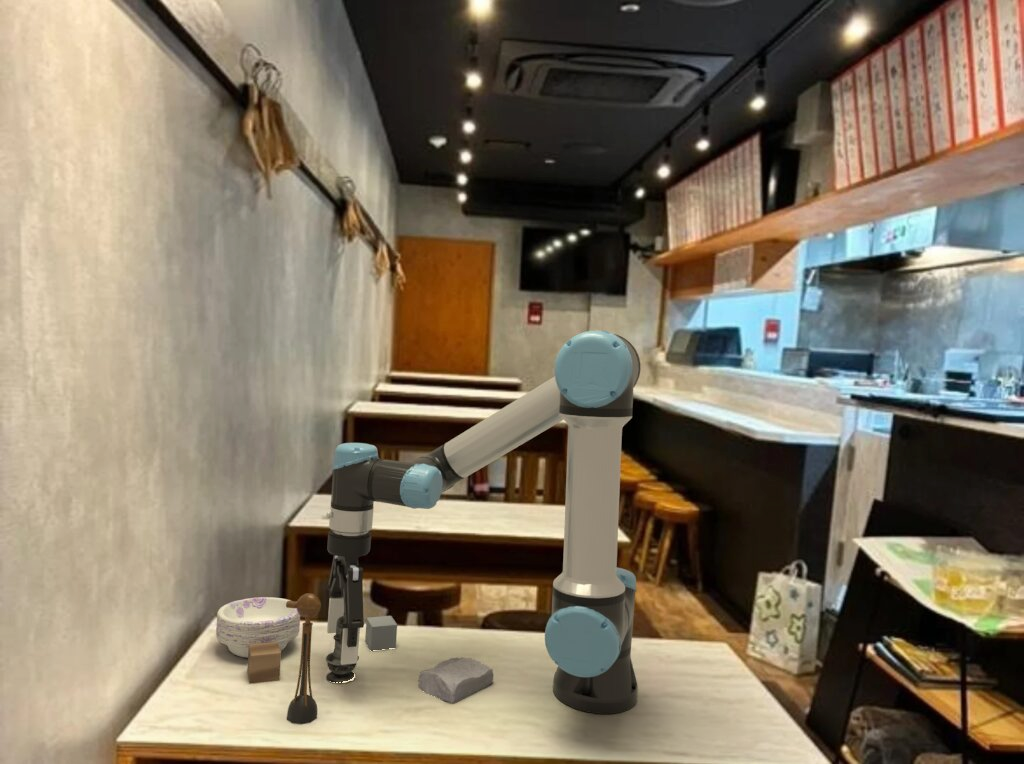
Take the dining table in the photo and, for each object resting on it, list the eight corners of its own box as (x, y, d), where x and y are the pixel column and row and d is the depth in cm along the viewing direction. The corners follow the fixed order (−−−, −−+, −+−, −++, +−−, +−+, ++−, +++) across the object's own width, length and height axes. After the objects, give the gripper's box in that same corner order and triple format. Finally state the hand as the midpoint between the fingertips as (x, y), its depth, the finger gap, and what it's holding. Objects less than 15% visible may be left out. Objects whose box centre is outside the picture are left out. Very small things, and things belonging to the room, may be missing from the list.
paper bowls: (257, 627, 153) (259, 589, 152) (315, 645, 146) (317, 605, 146) (196, 652, 139) (199, 611, 138) (257, 673, 132) (260, 629, 132)
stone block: (412, 698, 131) (454, 706, 125) (410, 670, 131) (453, 677, 126) (456, 680, 140) (498, 686, 135) (455, 654, 141) (496, 659, 135)
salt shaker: (364, 675, 134) (368, 610, 134) (344, 687, 129) (348, 620, 129) (338, 667, 137) (342, 603, 136) (317, 679, 132) (321, 612, 131)
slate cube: (395, 649, 147) (397, 624, 146) (370, 652, 145) (372, 626, 144) (389, 639, 151) (390, 615, 151) (365, 642, 149) (366, 617, 149)
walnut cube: (279, 680, 130) (281, 652, 130) (249, 684, 128) (250, 656, 128) (276, 668, 135) (277, 641, 134) (247, 671, 133) (248, 644, 132)
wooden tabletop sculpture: (275, 721, 116) (282, 596, 116) (287, 707, 121) (294, 586, 120) (311, 725, 116) (318, 600, 115) (322, 711, 120) (329, 590, 120)
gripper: (317, 513, 142) (309, 622, 143) (342, 551, 119) (332, 680, 120) (356, 513, 145) (348, 619, 146) (388, 549, 122) (378, 675, 123)
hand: (341, 647), depth 133 cm, fingers open, 13 cm apart
